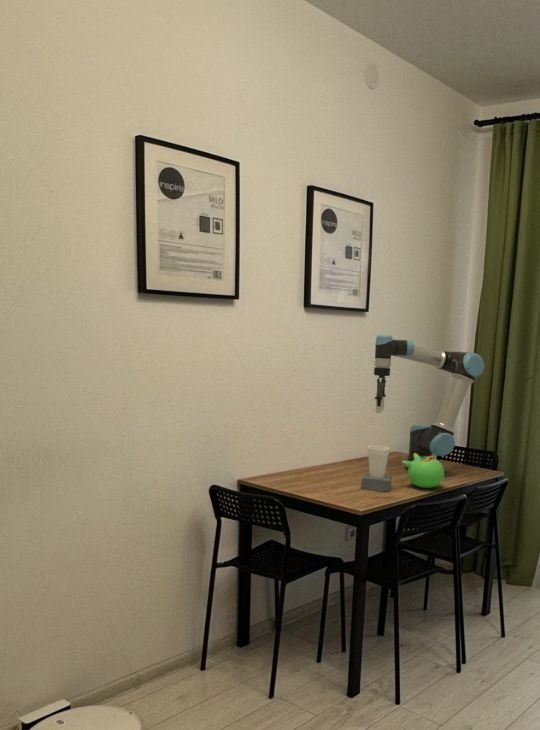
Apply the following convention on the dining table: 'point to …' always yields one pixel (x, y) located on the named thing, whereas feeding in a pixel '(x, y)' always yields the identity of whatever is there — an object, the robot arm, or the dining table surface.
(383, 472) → the foam cup
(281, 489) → the dining table surface
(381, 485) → the base plinth
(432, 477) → the toy bird
